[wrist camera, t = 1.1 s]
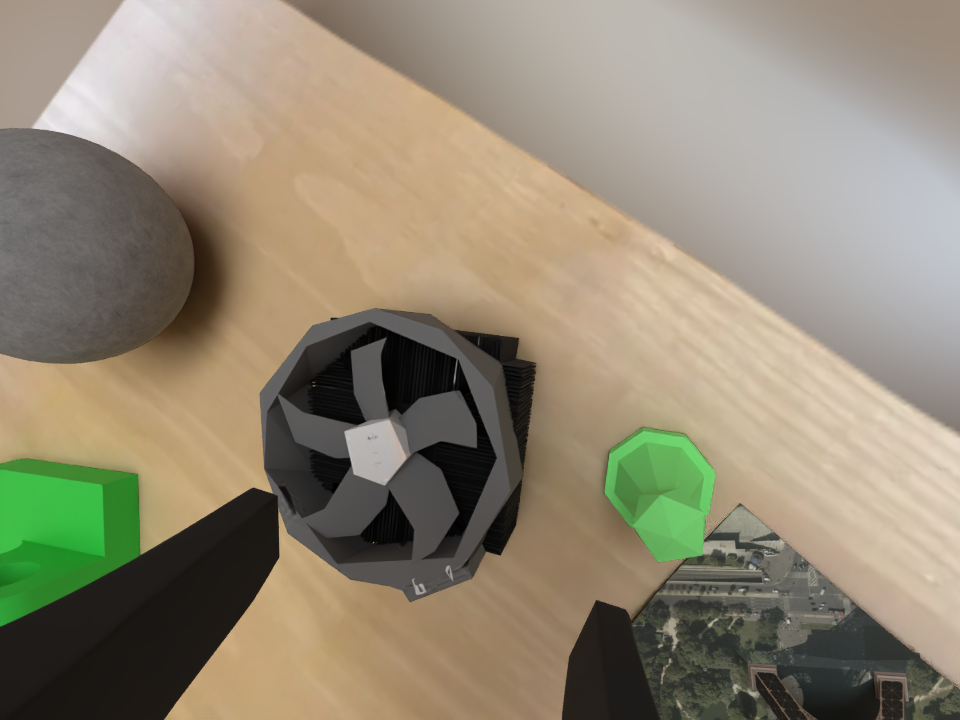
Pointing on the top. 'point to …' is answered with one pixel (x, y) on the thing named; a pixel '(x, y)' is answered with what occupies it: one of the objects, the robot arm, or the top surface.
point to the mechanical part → (61, 530)
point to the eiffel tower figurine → (775, 641)
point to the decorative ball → (84, 250)
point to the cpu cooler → (398, 446)
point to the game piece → (662, 491)
